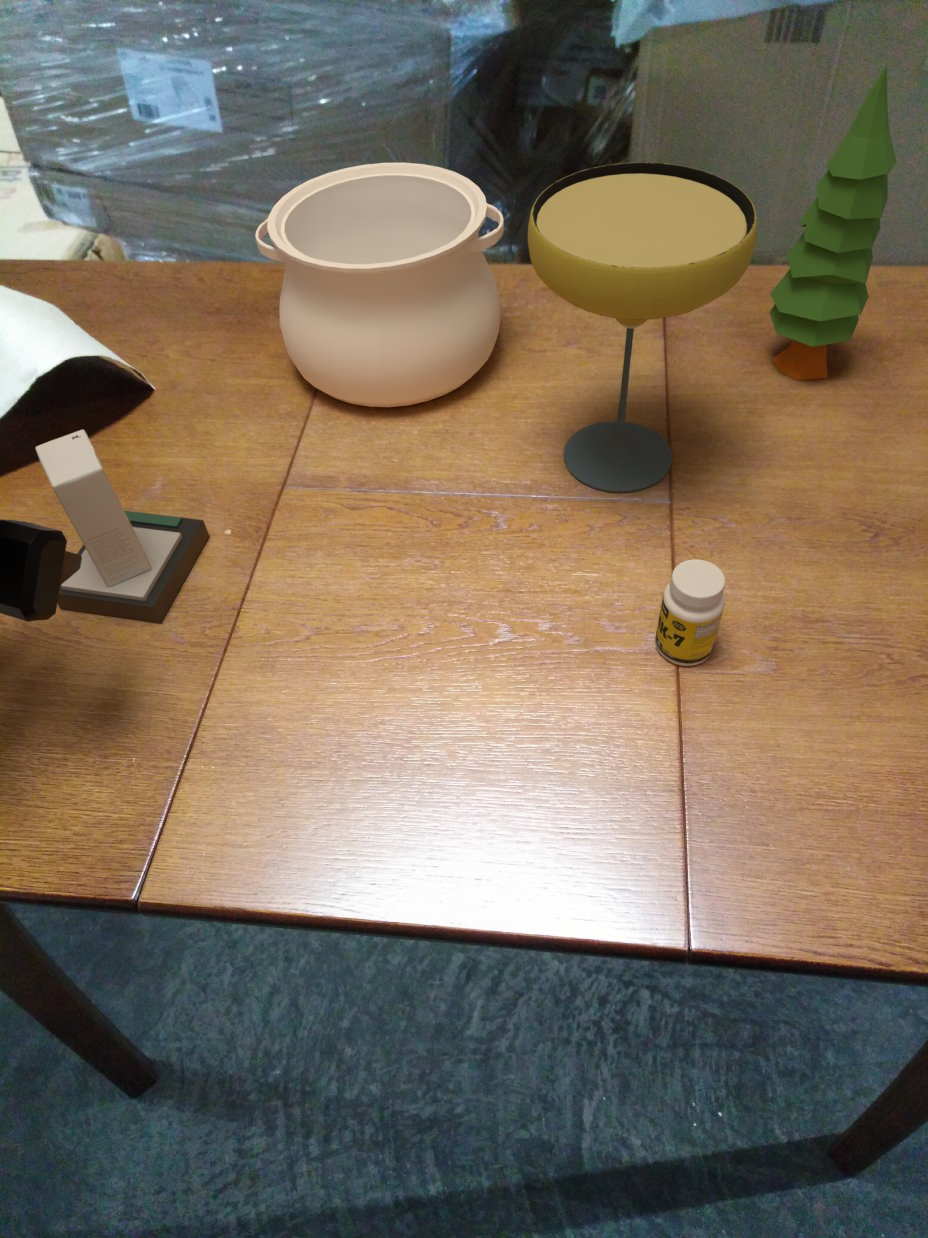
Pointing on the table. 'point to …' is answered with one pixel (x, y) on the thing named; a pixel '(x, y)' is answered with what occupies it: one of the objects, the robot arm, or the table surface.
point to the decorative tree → (836, 244)
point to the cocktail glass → (637, 278)
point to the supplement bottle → (690, 612)
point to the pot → (385, 281)
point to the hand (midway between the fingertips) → (31, 548)
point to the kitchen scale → (150, 592)
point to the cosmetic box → (93, 507)
